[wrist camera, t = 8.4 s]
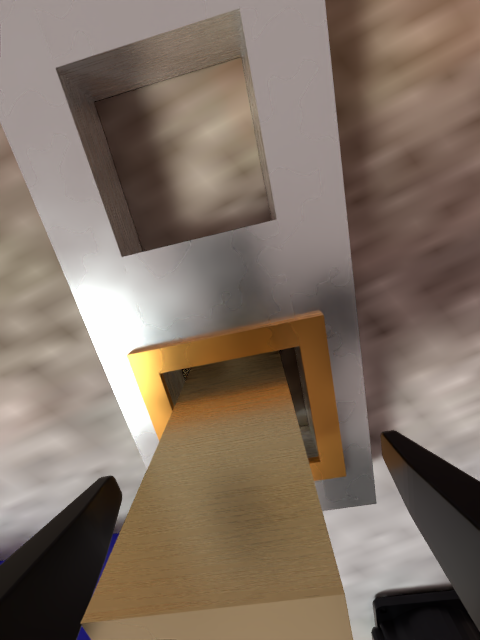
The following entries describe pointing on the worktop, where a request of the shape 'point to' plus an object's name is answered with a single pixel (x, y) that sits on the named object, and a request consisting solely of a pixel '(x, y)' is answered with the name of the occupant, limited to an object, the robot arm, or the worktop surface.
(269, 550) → the beige rectangular block
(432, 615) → the robot arm
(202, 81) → the worktop surface
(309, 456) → the grey plate with holes
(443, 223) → the worktop surface
